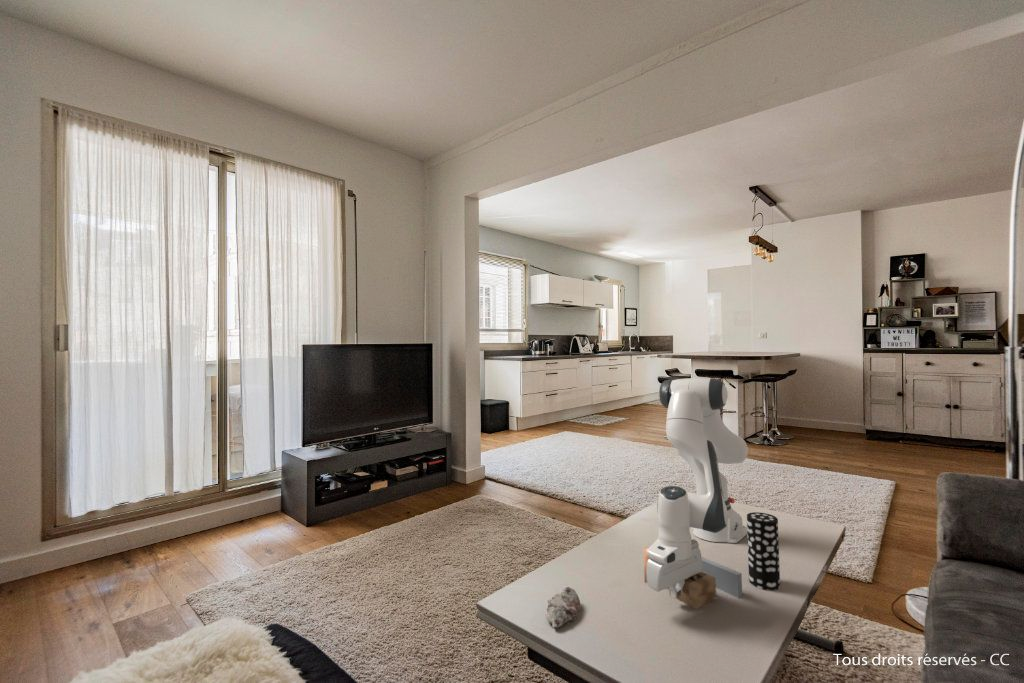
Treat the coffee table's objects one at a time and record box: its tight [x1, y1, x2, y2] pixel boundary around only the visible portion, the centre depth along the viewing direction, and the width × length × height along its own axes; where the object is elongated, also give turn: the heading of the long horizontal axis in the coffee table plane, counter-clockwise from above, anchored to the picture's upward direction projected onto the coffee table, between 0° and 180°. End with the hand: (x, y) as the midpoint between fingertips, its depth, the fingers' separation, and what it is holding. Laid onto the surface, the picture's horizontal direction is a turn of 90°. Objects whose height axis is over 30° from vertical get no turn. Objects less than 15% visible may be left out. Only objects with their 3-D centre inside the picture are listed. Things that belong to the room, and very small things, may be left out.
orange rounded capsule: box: [643, 546, 650, 584], centre depth 142 cm, size 3×3×10 cm
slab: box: [701, 556, 743, 599], centre depth 139 cm, size 2×16×6 cm, turn 33°
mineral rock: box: [545, 586, 581, 628], centre depth 125 cm, size 15×8×4 cm, turn 139°
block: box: [668, 572, 717, 610], centre depth 133 cm, size 9×9×6 cm
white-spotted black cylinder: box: [746, 511, 781, 591], centre depth 140 cm, size 8×8×20 cm
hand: (676, 596), depth 129 cm, fingers closed
